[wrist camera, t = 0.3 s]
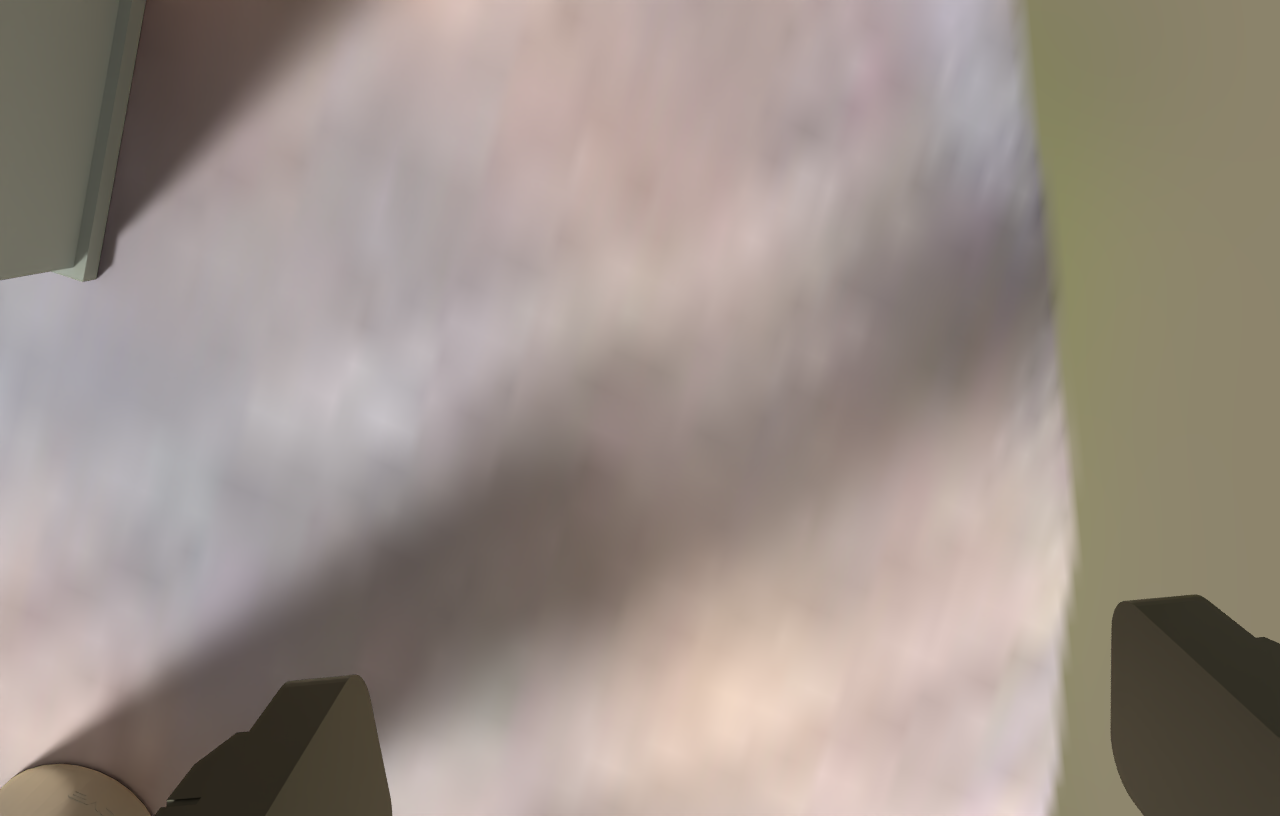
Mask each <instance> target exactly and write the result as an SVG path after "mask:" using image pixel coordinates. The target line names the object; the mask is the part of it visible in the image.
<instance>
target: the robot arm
mask: <svg viewBox="0 0 1280 816" xmlns="http://www.w3.org/2000/svg"><path fill="white" fill-rule="evenodd" d="M1111 641H1112V642H1111V742H1112V749H1113V755H1114V759H1115V763H1116V766H1117V770H1118V773H1119V775H1120V778H1121V780H1122V783H1123V785H1124V787H1125V789H1126V791H1127V793H1128V794H1129V796H1130V797H1131V799H1132V800H1133V802H1134V803H1135V805H1136V806H1137V807H1138V809H1139V810H1140V811H1141V813H1142V814H1143V815H1144V816H1280V644H1279V643H1277V642H1275V641H1272V640H1270V639H1268V638H1265V637H1259V638H1255V637H1254V636H1253V635H1251V634H1250V633H1249V632H1247V631H1246V630H1245V629H1244V628H1242V627H1241V626H1240V625H1239V624H1237V623H1236V622H1235V621H1233V620H1232V619H1231V618H1230V617H1228V616H1227V615H1226V614H1225V613H1223V612H1222V611H1221V610H1220V609H1218V608H1217V607H1216V606H1214V605H1213V604H1212V603H1211V602H1209V601H1208V600H1207V599H1205V598H1204V597H1202V596H1199V595H1184V596H1174V597H1163V598H1152V599H1141V600H1130V601H1123V602H1120V603H1119V604H1118V605H1117V607H1116V608H1115V611H1114V614H1113V618H1112V640H1111ZM0 816H151V815H150V813H149V812H148V810H147V809H146V807H145V806H144V804H143V803H142V802H141V801H140V800H139V799H138V798H137V797H136V796H135V795H134V794H133V793H132V792H131V791H130V790H129V789H127V788H126V787H125V786H123V785H122V784H121V783H119V782H118V781H116V780H115V779H113V778H111V777H109V776H107V775H105V774H103V773H101V772H99V771H96V770H92V769H89V768H85V767H82V766H77V765H68V764H51V765H42V766H38V767H35V768H31V769H28V770H25V771H24V772H22V773H20V774H18V775H16V776H15V777H13V778H11V779H10V780H9V781H8V782H7V783H6V784H5V785H4V786H3V787H2V788H1V789H0ZM155 816H392V805H391V798H390V793H389V788H388V783H387V778H386V773H385V768H384V764H383V759H382V754H381V749H380V744H379V739H378V734H377V729H376V725H375V720H374V715H373V710H372V705H371V700H370V696H369V692H368V689H367V686H366V684H365V682H364V681H363V679H362V678H361V677H360V676H358V675H347V676H337V677H326V678H315V679H305V680H294V681H288V682H286V683H285V684H284V685H283V686H282V687H281V688H280V690H279V691H278V692H277V694H276V695H275V696H274V698H273V699H272V701H271V702H270V703H269V705H268V706H267V707H266V709H265V710H264V712H263V713H262V714H261V716H260V717H259V719H258V720H257V721H256V723H255V724H254V725H253V727H252V728H251V730H250V731H249V732H239V733H236V734H235V735H233V736H232V737H231V738H229V739H228V740H227V741H225V742H224V743H223V744H221V745H220V746H219V747H217V748H216V749H215V750H213V751H212V752H211V753H209V754H208V755H207V756H205V757H204V758H203V759H201V760H200V761H199V762H197V763H196V764H195V765H194V766H193V767H192V768H191V770H190V771H189V772H188V773H187V775H186V776H185V777H184V779H183V780H182V781H181V782H180V784H179V785H178V786H177V788H176V789H175V790H174V791H173V793H172V794H171V795H170V797H169V798H168V799H167V806H166V807H162V808H160V809H159V811H158V812H157V813H156V815H155Z"/></svg>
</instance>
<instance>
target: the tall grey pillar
mask: <svg viewBox="0 0 1280 816" xmlns="http://www.w3.org/2000/svg"><path fill="white" fill-rule="evenodd" d="M145 4H146V0H0V280H5V279H10V278H16V277H22V276H27V275H33V274H39V273H45V272H50V271H51V272H54V273H57V274H60V275H63V276H66V277H69V278H72V279H75V280H78V281H81V282H85V281H90V280H95V279H96V278H97V273H98V267H99V261H100V256H101V250H102V245H103V239H104V234H105V228H106V222H107V217H108V211H109V206H110V200H111V194H112V189H113V183H114V178H115V172H116V166H117V161H118V155H119V150H120V144H121V138H122V133H123V127H124V122H125V116H126V111H127V105H128V99H129V94H130V88H131V83H132V77H133V71H134V66H135V60H136V55H137V49H138V43H139V38H140V32H141V27H142V21H143V16H144V10H145Z"/></svg>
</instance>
